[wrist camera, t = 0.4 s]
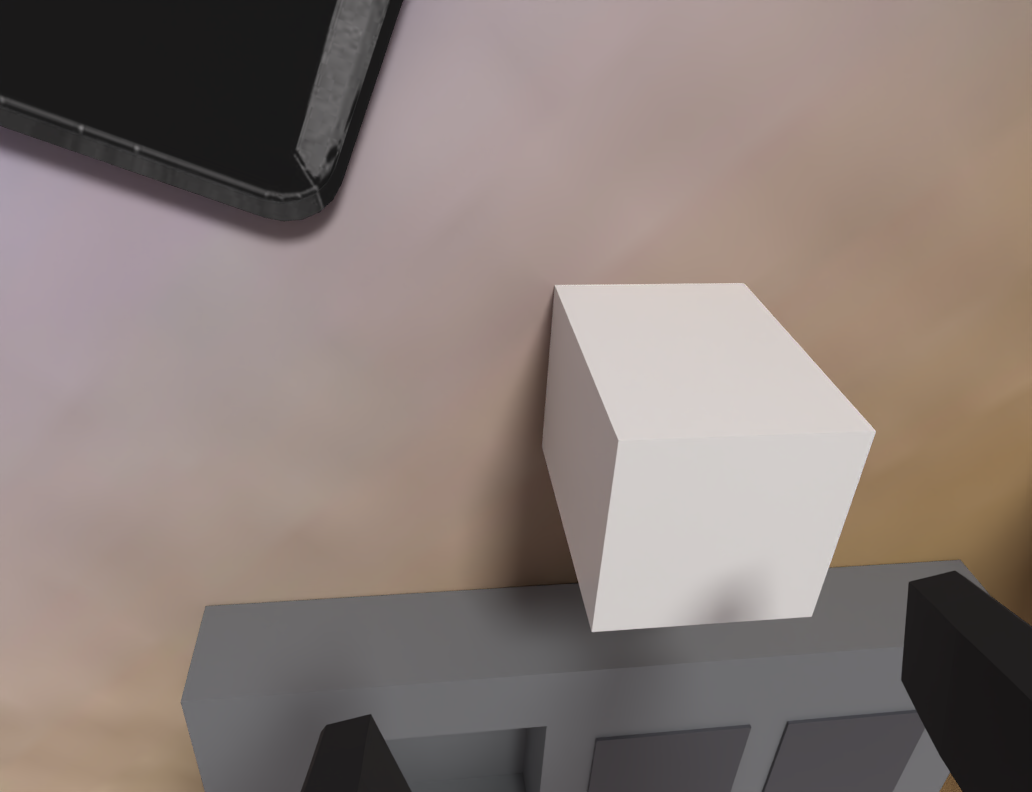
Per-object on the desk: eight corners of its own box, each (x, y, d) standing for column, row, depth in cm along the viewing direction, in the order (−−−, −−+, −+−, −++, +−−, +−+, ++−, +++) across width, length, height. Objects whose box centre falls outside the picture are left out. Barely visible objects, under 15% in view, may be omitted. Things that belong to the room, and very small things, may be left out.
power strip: (960, 559, 24) (1027, 640, 22) (868, 759, 30) (913, 842, 27) (205, 606, 21) (179, 705, 19) (253, 818, 27) (237, 919, 24)
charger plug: (743, 282, 18) (876, 431, 13) (709, 439, 21) (811, 616, 16) (554, 284, 18) (618, 440, 13) (541, 445, 20) (591, 632, 15)
